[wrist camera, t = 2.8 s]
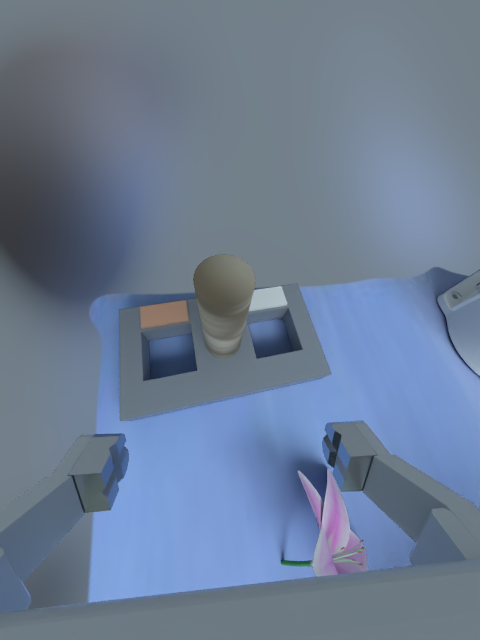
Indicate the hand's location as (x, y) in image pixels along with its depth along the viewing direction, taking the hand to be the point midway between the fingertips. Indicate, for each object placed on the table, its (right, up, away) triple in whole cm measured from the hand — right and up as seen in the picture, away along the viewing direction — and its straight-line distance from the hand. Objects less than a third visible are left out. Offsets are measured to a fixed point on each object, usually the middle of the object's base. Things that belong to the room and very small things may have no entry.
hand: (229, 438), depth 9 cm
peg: (-2, +2, +16) cm, 17 cm away
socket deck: (-2, +1, +19) cm, 19 cm away
